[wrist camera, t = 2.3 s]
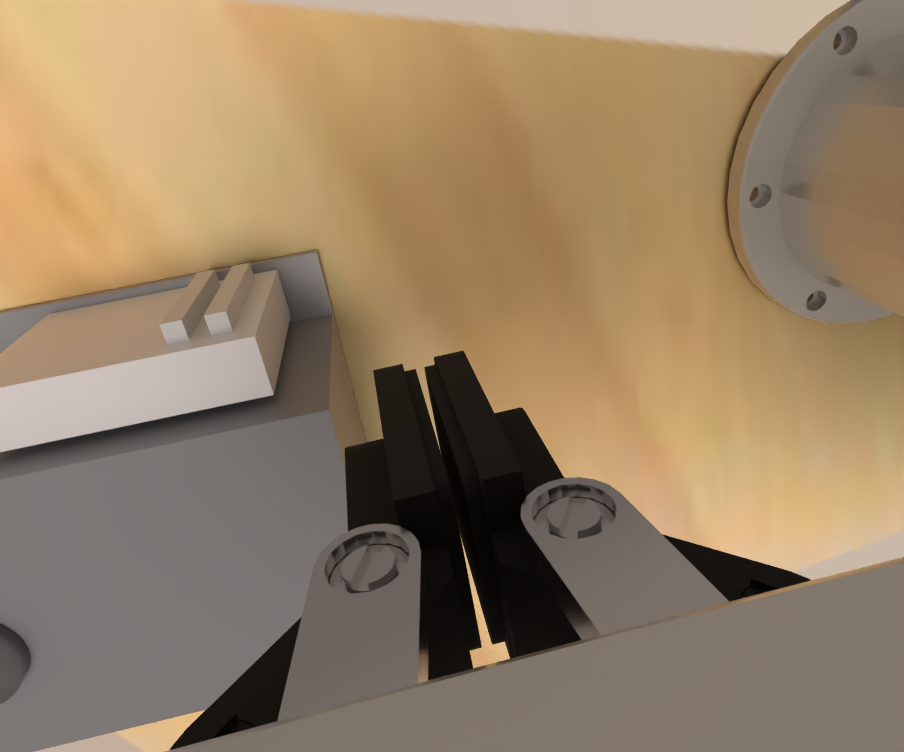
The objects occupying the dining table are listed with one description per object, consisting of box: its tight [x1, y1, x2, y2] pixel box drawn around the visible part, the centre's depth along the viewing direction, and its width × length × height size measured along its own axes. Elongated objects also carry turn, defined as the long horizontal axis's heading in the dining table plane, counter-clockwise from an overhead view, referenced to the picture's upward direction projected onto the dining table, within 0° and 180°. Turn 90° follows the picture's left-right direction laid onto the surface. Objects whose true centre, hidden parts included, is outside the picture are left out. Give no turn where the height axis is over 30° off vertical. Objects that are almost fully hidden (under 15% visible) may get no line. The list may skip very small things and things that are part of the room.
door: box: [0, 263, 291, 452], centre depth 20 cm, size 8×2×6 cm, turn 99°
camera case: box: [0, 250, 367, 752], centre depth 21 cm, size 15×12×9 cm
